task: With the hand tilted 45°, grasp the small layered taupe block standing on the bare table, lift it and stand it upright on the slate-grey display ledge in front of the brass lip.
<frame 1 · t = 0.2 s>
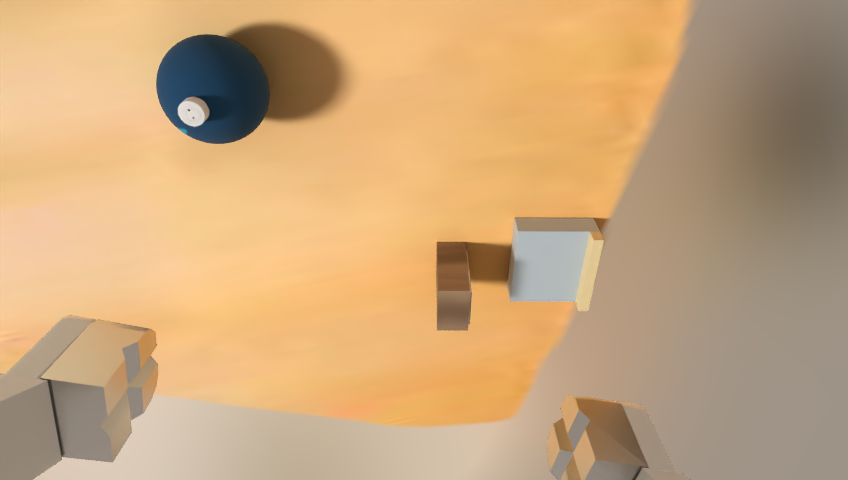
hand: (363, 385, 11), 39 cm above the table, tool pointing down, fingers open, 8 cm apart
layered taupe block: (450, 261, 57), on the table
christmas ornament: (231, 73, 46), on the table
display ledge: (548, 253, 56), on the table
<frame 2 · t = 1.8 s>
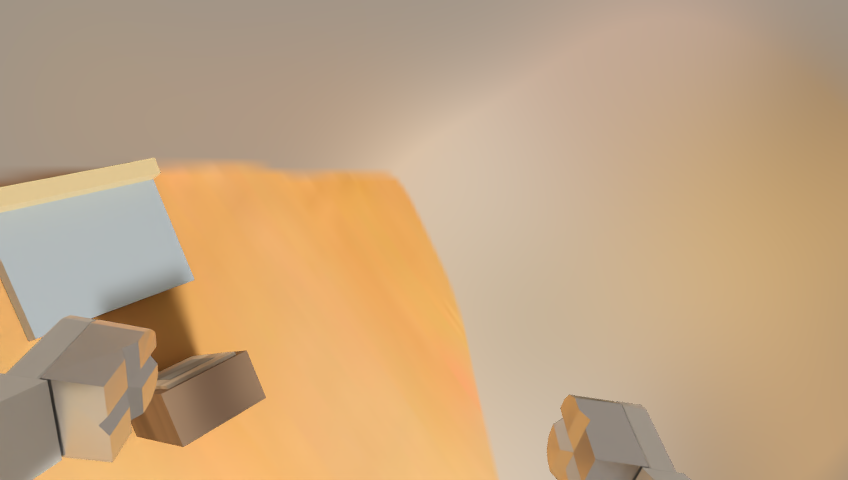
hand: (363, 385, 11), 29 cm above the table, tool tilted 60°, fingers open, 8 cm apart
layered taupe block: (167, 394, 35), on the table
display ledge: (86, 251, 33), on the table
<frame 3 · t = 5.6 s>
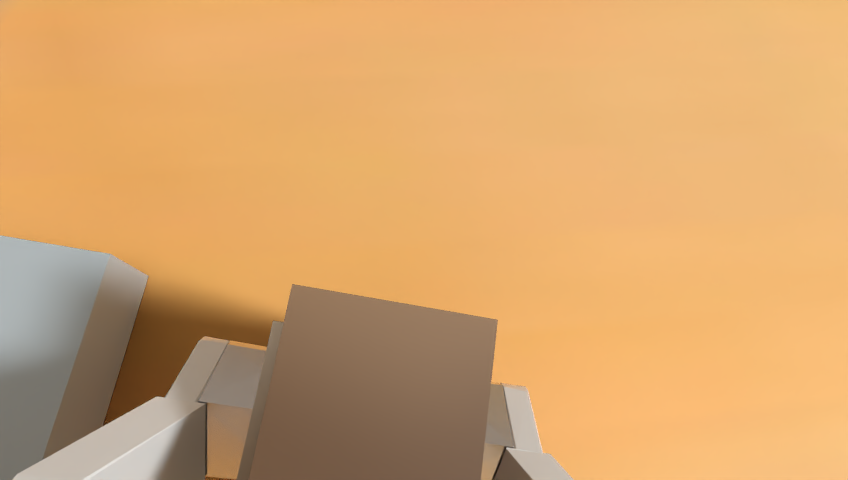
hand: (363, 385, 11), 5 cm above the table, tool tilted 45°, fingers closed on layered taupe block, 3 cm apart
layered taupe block: (350, 437, 14), on the table, touching gripper
when the fingers open (8 cm above the table, at t = 10.2 s): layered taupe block stays where it is, resting on display ledge.
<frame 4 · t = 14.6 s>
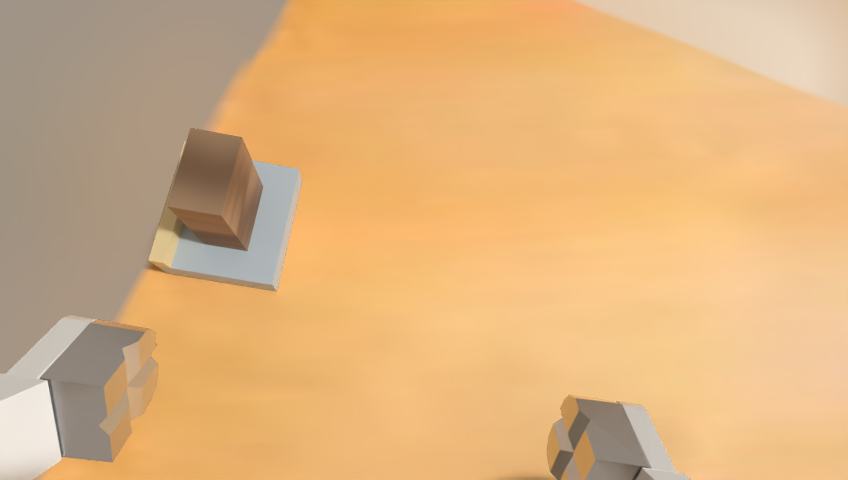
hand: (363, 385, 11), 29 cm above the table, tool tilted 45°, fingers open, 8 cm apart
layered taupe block: (234, 214, 38), point 2 cm above the table, touching display ledge
display ledge: (237, 225, 41), on the table
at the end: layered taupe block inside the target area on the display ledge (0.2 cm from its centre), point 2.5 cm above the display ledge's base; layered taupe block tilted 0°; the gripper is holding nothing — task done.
